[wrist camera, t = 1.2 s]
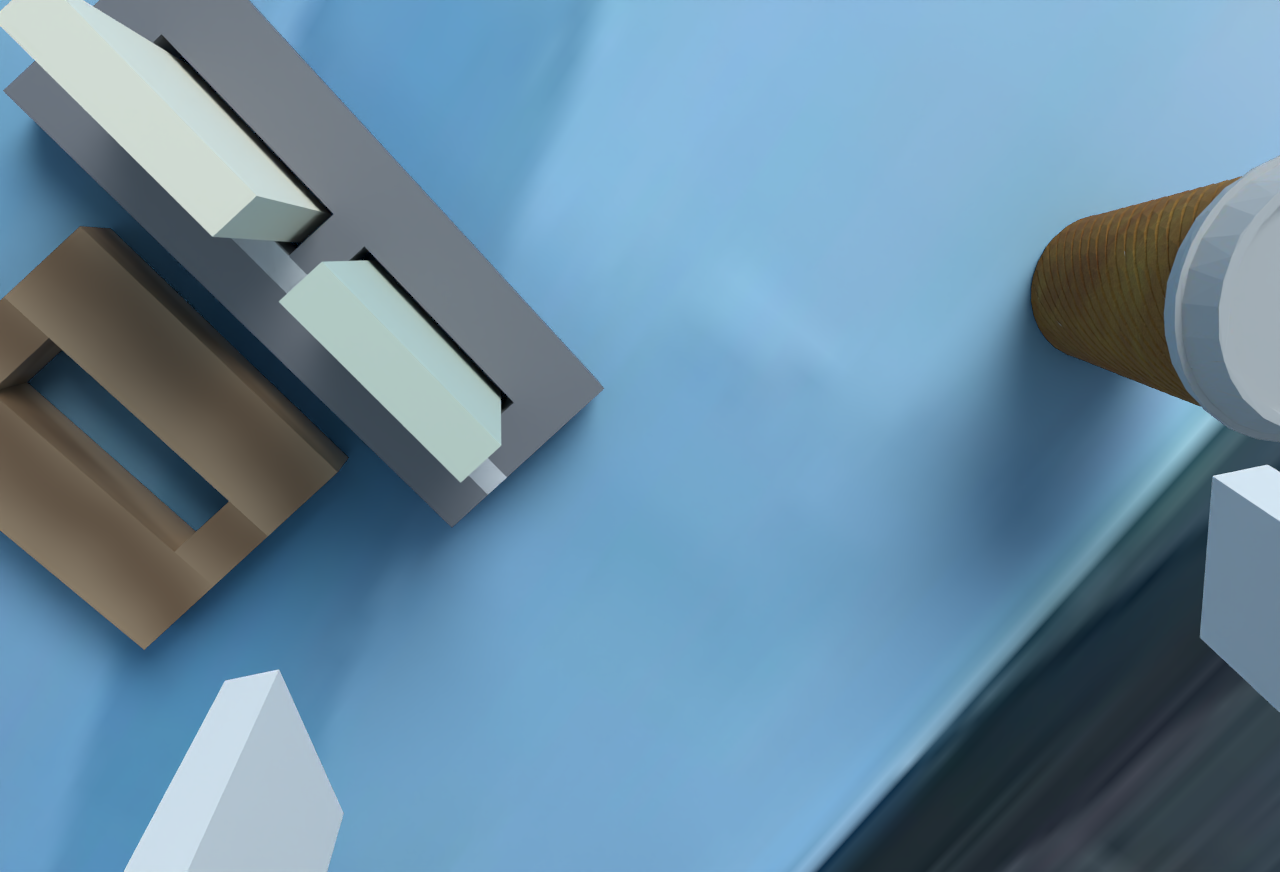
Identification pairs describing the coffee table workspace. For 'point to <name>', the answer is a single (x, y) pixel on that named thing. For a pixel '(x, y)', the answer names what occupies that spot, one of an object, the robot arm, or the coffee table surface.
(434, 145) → the coffee table surface
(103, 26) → the pale green slab
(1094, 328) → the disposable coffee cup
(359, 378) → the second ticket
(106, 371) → the frame
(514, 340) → the grey slotted plate
